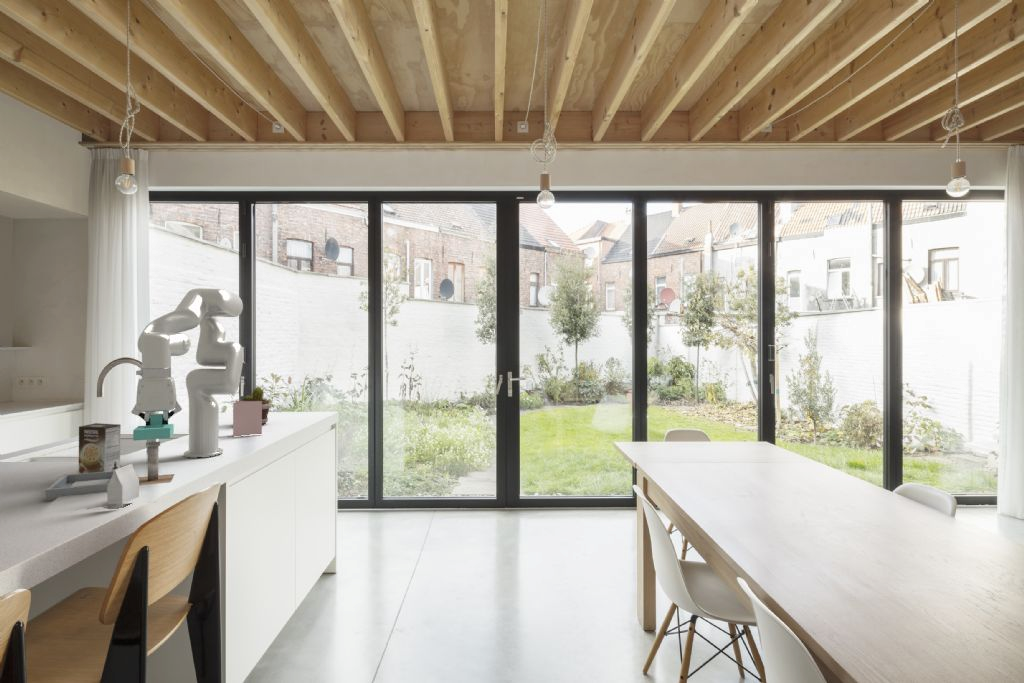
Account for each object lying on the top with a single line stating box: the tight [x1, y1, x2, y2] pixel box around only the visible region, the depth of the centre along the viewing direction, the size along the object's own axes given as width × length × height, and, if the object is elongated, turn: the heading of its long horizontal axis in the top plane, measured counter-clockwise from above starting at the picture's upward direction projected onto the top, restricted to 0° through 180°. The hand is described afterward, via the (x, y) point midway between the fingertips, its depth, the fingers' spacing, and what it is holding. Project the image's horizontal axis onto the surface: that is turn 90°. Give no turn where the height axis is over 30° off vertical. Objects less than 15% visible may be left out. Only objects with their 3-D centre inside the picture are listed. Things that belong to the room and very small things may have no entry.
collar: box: [132, 413, 175, 442], centre depth 165 cm, size 13×9×6 cm
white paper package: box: [106, 463, 140, 510], centre depth 143 cm, size 4×7×10 cm, turn 3°
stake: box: [138, 440, 175, 486], centre depth 163 cm, size 10×10×12 cm
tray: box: [44, 471, 114, 502], centre depth 156 cm, size 17×14×3 cm
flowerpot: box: [240, 384, 272, 426], centre depth 266 cm, size 14×15×20 cm
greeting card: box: [232, 400, 263, 437], centre depth 237 cm, size 11×7×15 cm, turn 92°
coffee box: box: [78, 422, 122, 474], centre depth 170 cm, size 9×6×16 cm
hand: (157, 432), depth 169 cm, fingers closed on collar, 3 cm apart
